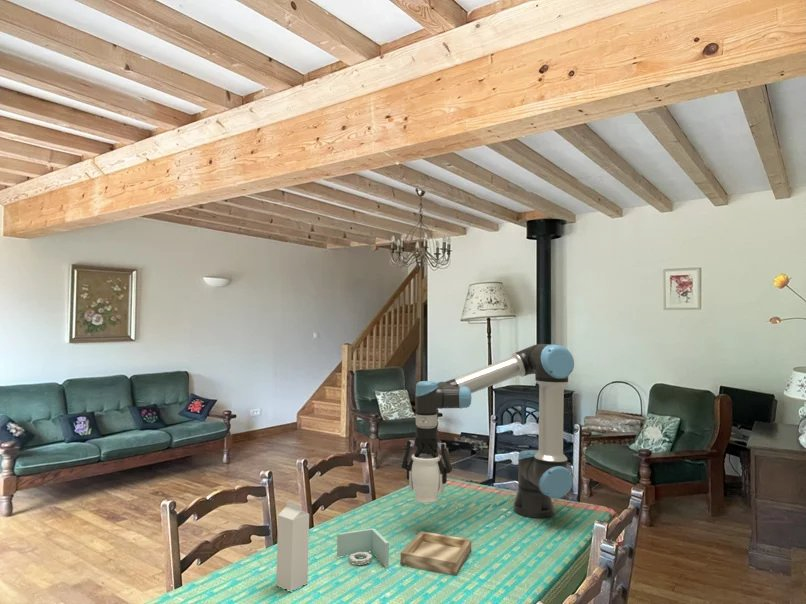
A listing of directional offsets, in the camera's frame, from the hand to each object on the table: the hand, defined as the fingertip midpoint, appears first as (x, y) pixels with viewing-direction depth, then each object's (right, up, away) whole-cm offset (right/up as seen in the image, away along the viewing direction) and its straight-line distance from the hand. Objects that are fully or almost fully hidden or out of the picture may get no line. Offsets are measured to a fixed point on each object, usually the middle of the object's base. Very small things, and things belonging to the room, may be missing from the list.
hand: (426, 491), depth 182 cm
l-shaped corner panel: (-20, -13, -25) cm, 35 cm away
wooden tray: (+2, -13, -21) cm, 25 cm away
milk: (-38, -12, -40) cm, 56 cm away
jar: (0, -3, 0) cm, 3 cm away
